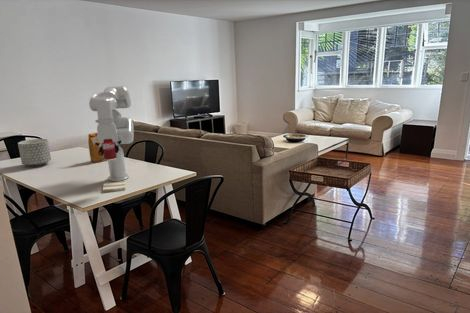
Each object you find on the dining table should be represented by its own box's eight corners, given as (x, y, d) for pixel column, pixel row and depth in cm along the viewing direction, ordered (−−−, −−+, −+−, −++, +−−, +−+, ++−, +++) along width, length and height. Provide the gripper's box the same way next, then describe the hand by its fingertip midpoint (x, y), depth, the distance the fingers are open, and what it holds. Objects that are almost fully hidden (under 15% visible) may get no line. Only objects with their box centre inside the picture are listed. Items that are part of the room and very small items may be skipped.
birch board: (104, 185, 195) (103, 183, 195) (125, 183, 199) (124, 181, 198) (102, 192, 184) (102, 190, 184) (125, 189, 188) (125, 187, 187)
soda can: (115, 160, 181) (112, 138, 178) (101, 160, 180) (99, 139, 177) (118, 156, 188) (116, 136, 185) (105, 157, 187) (103, 136, 184)
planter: (35, 169, 233) (30, 144, 229) (16, 167, 240) (11, 143, 235) (57, 162, 251) (53, 139, 246) (39, 161, 257) (35, 138, 253)
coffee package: (110, 160, 254) (107, 132, 248) (94, 163, 245) (90, 134, 240) (105, 158, 261) (101, 130, 255) (89, 161, 252) (85, 133, 247)
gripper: (87, 123, 173) (92, 156, 177) (122, 121, 178) (126, 153, 182) (89, 121, 180) (93, 153, 184) (122, 119, 185) (126, 150, 189)
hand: (109, 152), depth 183 cm, fingers closed on soda can, 7 cm apart
